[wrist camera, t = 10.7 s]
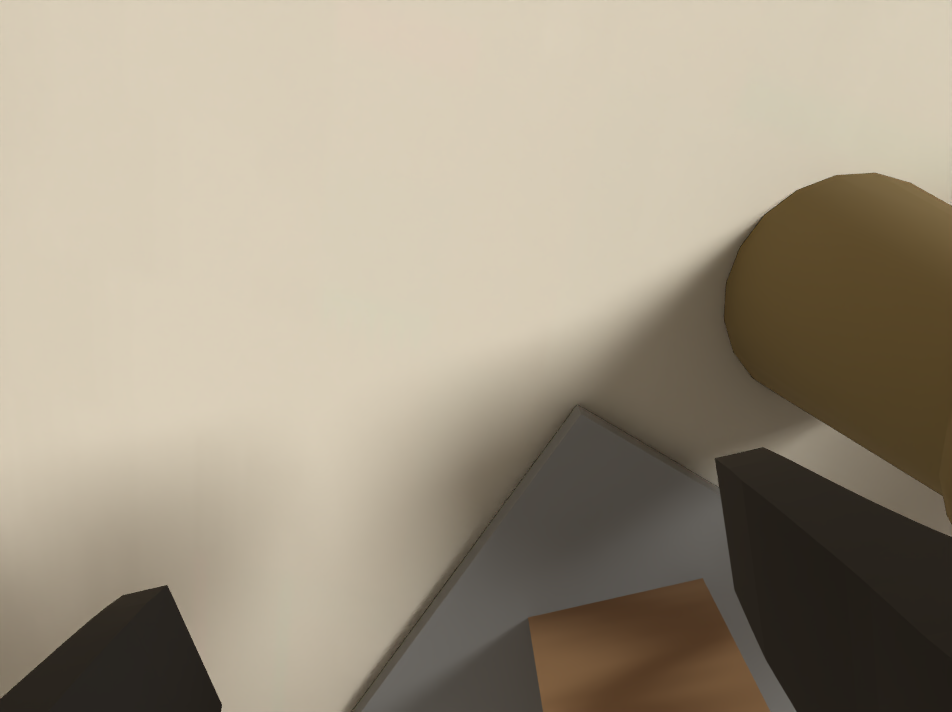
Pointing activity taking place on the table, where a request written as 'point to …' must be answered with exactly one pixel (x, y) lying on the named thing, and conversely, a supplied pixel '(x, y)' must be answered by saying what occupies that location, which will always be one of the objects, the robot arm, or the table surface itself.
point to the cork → (855, 316)
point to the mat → (565, 572)
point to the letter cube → (643, 656)
